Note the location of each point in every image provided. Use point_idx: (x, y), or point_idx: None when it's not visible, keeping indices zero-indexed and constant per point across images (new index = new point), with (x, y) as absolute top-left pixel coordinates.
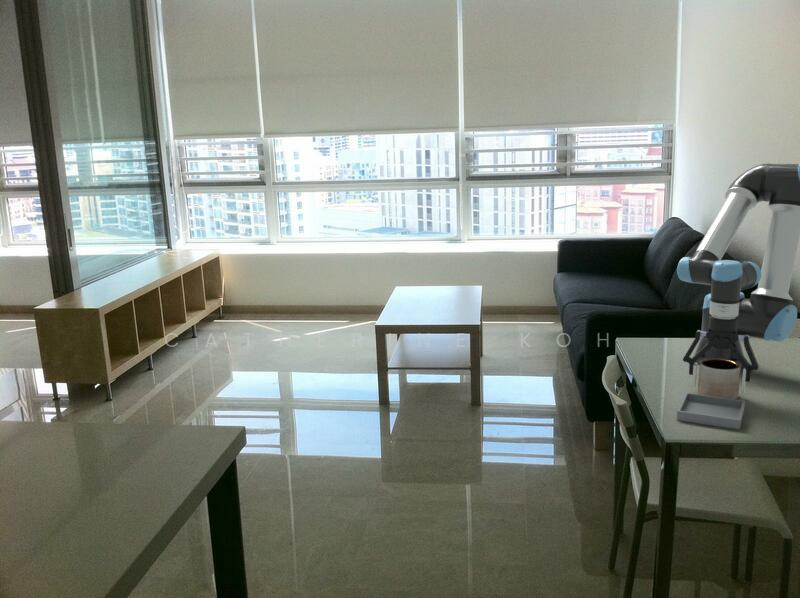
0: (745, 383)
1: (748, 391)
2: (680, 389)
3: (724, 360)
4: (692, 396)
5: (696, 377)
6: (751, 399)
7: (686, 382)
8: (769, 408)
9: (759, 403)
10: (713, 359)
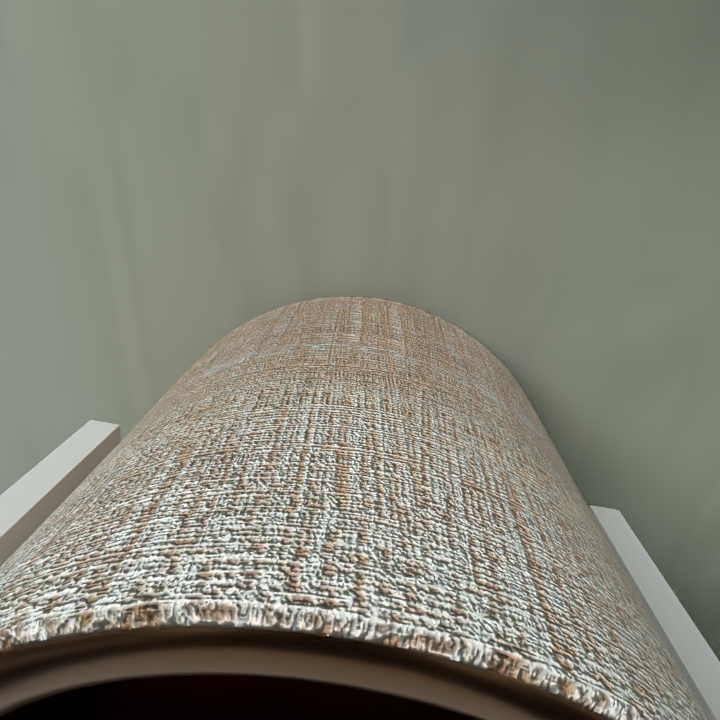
0: (662, 586)
1: (693, 280)
2: (23, 382)
3: (433, 702)
4: None
5: (66, 478)
6: (638, 495)
7: (14, 130)
8: (714, 638)
9: (675, 564)
10: (96, 682)
